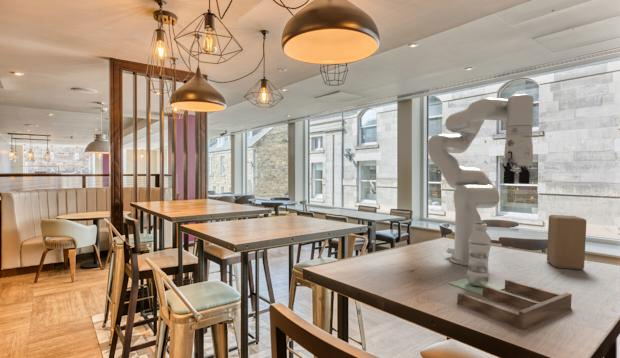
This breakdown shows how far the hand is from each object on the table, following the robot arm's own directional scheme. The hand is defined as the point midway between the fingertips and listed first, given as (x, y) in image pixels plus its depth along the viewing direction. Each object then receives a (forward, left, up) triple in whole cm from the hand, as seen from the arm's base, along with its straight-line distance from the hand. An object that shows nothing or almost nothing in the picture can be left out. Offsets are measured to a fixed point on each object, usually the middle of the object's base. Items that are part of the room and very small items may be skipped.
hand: (516, 183), depth 114 cm
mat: (-3, -16, -33) cm, 37 cm away
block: (0, +40, -34) cm, 52 cm away
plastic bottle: (-3, -16, -33) cm, 37 cm away
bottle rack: (+11, -22, -33) cm, 41 cm away
